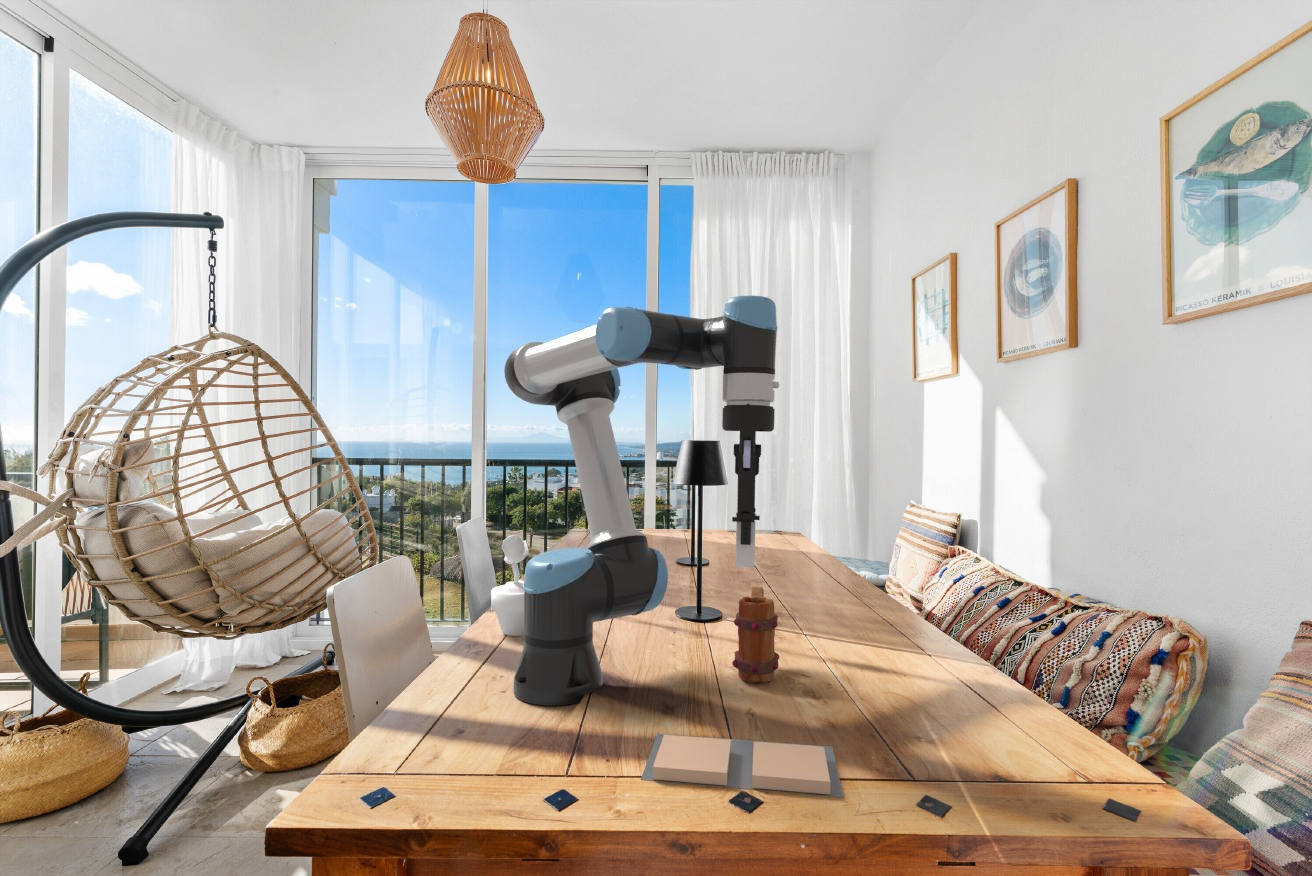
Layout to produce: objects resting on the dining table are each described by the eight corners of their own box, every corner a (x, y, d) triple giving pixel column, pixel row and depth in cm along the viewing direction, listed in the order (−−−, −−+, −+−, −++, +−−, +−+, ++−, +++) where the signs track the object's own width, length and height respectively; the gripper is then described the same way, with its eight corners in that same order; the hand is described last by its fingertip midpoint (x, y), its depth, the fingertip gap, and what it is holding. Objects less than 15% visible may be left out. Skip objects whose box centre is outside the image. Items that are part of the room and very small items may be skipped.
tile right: (753, 754, 88) (752, 789, 79) (753, 741, 88) (752, 775, 79) (823, 759, 86) (830, 795, 77) (823, 746, 86) (830, 781, 78)
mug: (778, 690, 114) (778, 602, 114) (730, 686, 115) (731, 599, 116) (780, 662, 128) (780, 584, 128) (737, 659, 130) (737, 582, 130)
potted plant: (534, 642, 141) (534, 523, 141) (482, 639, 143) (482, 522, 143) (552, 625, 153) (553, 517, 154) (504, 623, 155) (505, 516, 155)
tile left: (663, 747, 90) (652, 780, 81) (664, 734, 90) (652, 766, 81) (730, 752, 88) (727, 786, 79) (730, 739, 88) (726, 773, 79)
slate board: (640, 789, 81) (640, 779, 81) (657, 742, 94) (657, 733, 94) (843, 807, 77) (843, 797, 77) (832, 755, 90) (832, 746, 90)
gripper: (775, 402, 90) (771, 576, 90) (773, 406, 103) (770, 558, 103) (720, 402, 91) (716, 573, 91) (725, 405, 104) (721, 556, 104)
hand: (745, 565), depth 97 cm, fingers closed
